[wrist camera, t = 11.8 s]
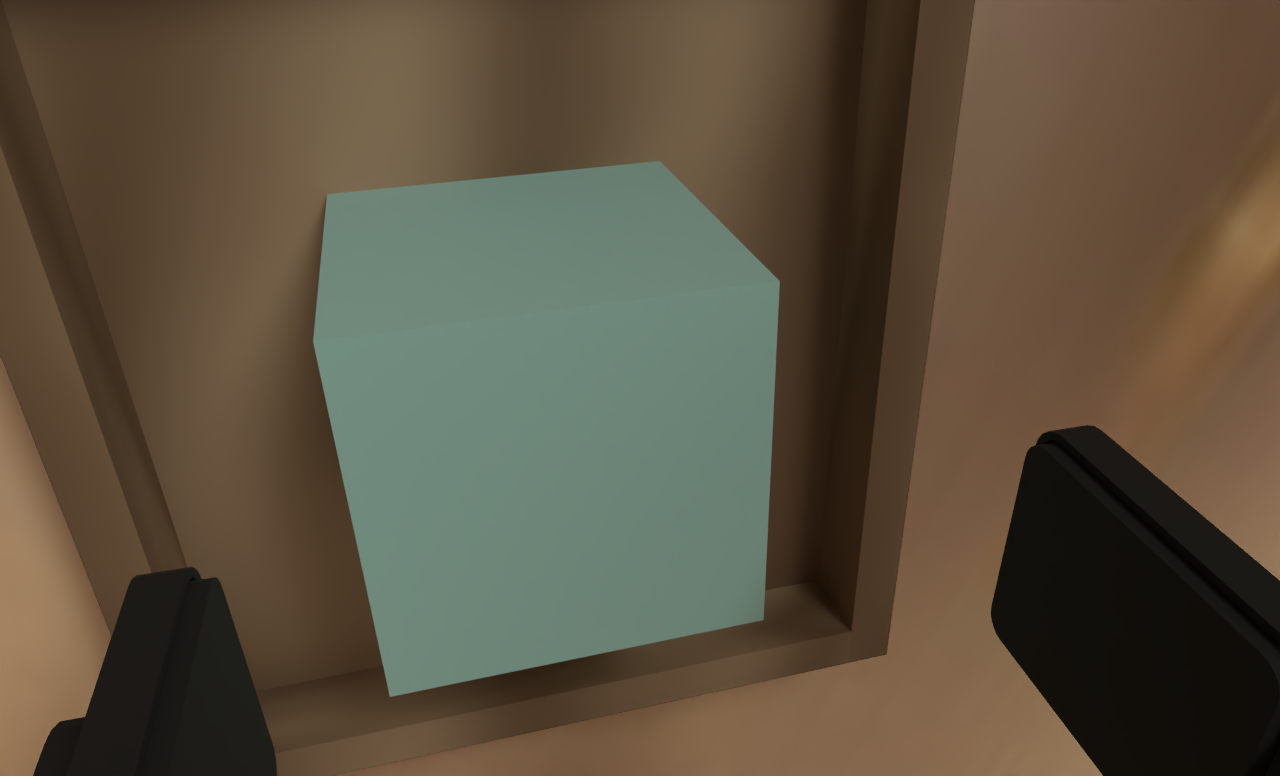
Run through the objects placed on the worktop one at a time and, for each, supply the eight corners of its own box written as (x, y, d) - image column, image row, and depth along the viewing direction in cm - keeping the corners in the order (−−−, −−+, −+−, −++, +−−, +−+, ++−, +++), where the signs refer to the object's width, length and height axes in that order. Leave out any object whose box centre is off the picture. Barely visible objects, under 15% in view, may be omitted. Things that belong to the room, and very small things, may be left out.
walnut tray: (922, -219, 16) (1006, -231, 14) (842, 587, 25) (886, 654, 23) (-132, -202, 13) (-226, -215, 11) (197, 717, 22) (180, 808, 20)
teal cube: (659, 160, 18) (779, 280, 13) (664, 434, 21) (763, 619, 16) (326, 193, 17) (313, 341, 12) (381, 479, 20) (390, 696, 15)
